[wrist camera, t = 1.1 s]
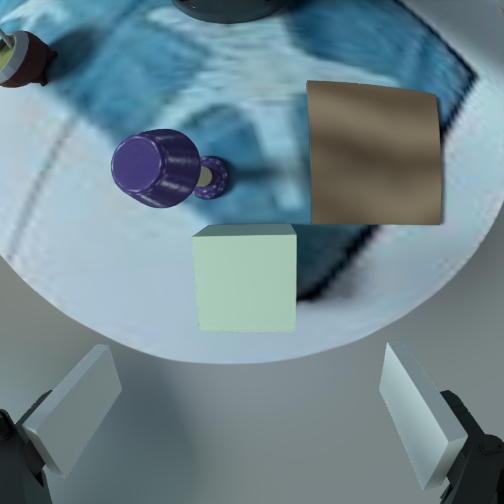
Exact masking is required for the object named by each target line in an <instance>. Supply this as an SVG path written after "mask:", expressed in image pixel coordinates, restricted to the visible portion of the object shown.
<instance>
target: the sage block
mask: <svg viewBox="0 0 504 504" xmlns="http://www.w3.org/2000/svg"><path fill="white" fill-rule="evenodd" d="M192 246H193V261H194V274H195V287H196V299H197V310H198V321H199V331H226V332H274V331H295V323H296V256H297V235H296V233H295V231H294V229H293V227H292V226H291V224H290V223H288V224H235V225H208V226H207V227H205V228H204V229H202V230H201V231H199V232H198V233H197V234H195V235H194V236H192Z"/></svg>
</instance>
